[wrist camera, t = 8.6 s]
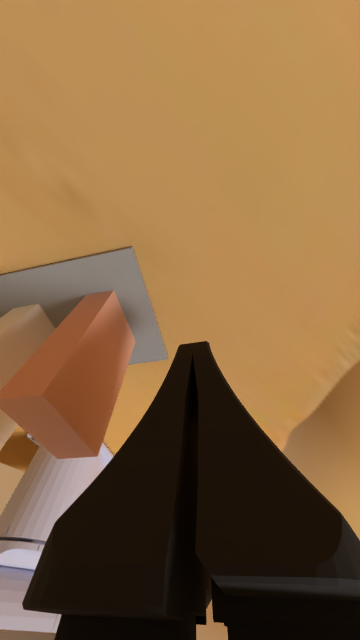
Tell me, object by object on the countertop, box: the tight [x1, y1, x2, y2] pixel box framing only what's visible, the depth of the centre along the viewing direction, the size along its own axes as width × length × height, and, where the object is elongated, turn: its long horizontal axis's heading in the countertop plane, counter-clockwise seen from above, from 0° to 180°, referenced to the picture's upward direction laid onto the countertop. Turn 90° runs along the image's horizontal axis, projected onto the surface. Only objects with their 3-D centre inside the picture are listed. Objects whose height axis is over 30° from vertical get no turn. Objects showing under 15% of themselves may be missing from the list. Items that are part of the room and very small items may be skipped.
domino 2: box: [0, 290, 135, 459], centre depth 12 cm, size 4×2×8 cm, turn 12°
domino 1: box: [0, 304, 55, 450], centre depth 12 cm, size 4×2×8 cm, turn 12°
